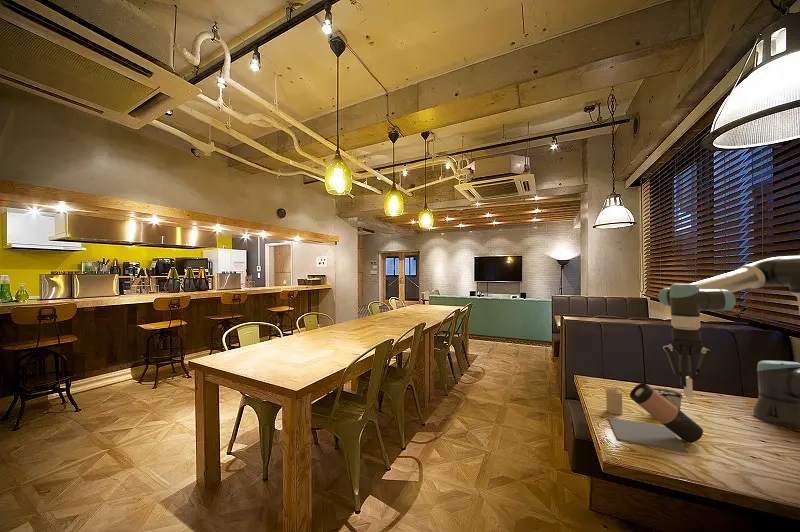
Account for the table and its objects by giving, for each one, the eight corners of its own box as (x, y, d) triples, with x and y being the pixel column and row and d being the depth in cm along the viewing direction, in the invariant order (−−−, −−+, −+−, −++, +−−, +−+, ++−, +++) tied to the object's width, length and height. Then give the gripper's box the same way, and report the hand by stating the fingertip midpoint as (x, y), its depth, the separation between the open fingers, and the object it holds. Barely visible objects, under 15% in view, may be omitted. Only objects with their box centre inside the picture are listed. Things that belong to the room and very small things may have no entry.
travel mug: (695, 422, 109) (641, 380, 115) (708, 431, 101) (649, 386, 108) (679, 437, 110) (626, 394, 116) (690, 447, 103) (633, 401, 109)
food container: (671, 411, 130) (670, 387, 130) (683, 418, 124) (682, 393, 124) (640, 410, 131) (639, 387, 132) (650, 417, 125) (649, 392, 125)
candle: (620, 410, 132) (620, 386, 132) (624, 415, 127) (623, 391, 127) (605, 408, 134) (604, 385, 134) (608, 413, 129) (607, 389, 129)
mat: (668, 428, 116) (668, 427, 116) (688, 453, 99) (688, 451, 99) (608, 419, 124) (608, 417, 124) (617, 440, 108) (617, 438, 108)
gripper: (705, 327, 108) (708, 395, 107) (658, 325, 114) (661, 390, 113) (715, 330, 101) (719, 403, 100) (665, 328, 107) (668, 397, 106)
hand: (688, 396), depth 107 cm, fingers closed
